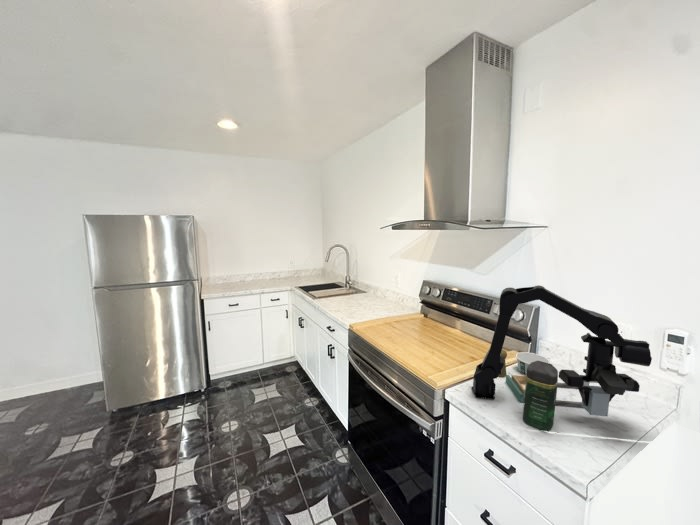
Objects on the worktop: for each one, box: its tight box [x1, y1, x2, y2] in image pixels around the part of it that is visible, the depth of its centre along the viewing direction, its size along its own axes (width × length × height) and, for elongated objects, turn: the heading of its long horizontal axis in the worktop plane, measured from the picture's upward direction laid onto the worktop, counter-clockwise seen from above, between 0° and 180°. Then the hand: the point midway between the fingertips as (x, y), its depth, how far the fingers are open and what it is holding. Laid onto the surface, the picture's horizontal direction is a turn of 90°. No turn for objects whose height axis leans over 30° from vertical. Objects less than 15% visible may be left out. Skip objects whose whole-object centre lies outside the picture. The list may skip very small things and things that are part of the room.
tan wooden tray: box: [510, 374, 526, 397], centre depth 104 cm, size 10×10×4 cm
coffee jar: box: [522, 361, 559, 432], centre depth 89 cm, size 10×8×19 cm
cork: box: [497, 348, 508, 378], centre depth 117 cm, size 6×6×11 cm
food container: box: [515, 351, 551, 376], centre depth 119 cm, size 12×12×6 cm
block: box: [581, 385, 610, 417], centre depth 89 cm, size 4×4×7 cm
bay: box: [505, 374, 584, 409], centre depth 103 cm, size 26×16×4 cm, turn 81°
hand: (594, 406), depth 89 cm, fingers closed on block, 4 cm apart
